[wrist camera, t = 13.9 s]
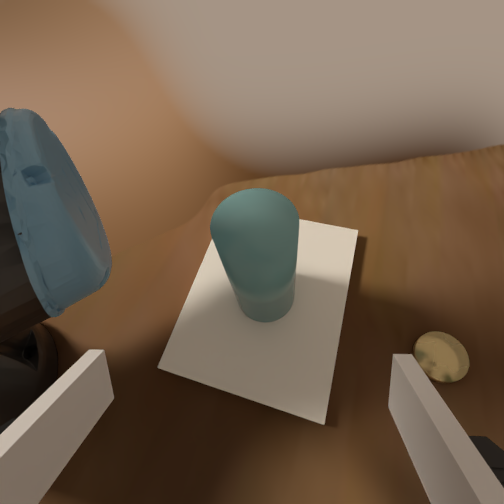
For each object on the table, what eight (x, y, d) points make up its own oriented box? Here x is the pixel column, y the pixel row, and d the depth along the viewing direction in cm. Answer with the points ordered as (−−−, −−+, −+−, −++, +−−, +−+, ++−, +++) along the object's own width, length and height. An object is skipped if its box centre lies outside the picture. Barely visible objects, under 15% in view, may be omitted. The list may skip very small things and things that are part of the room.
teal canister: (229, 313, 31) (197, 251, 20) (246, 263, 34) (227, 182, 22) (286, 329, 30) (287, 271, 18) (300, 275, 32) (307, 195, 21)
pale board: (161, 369, 30) (157, 367, 29) (228, 211, 39) (226, 205, 38) (323, 424, 26) (324, 424, 25) (356, 236, 35) (358, 230, 34)
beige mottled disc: (420, 385, 27) (425, 384, 26) (404, 336, 30) (409, 333, 29) (470, 381, 27) (478, 379, 26) (451, 332, 29) (457, 329, 28)
